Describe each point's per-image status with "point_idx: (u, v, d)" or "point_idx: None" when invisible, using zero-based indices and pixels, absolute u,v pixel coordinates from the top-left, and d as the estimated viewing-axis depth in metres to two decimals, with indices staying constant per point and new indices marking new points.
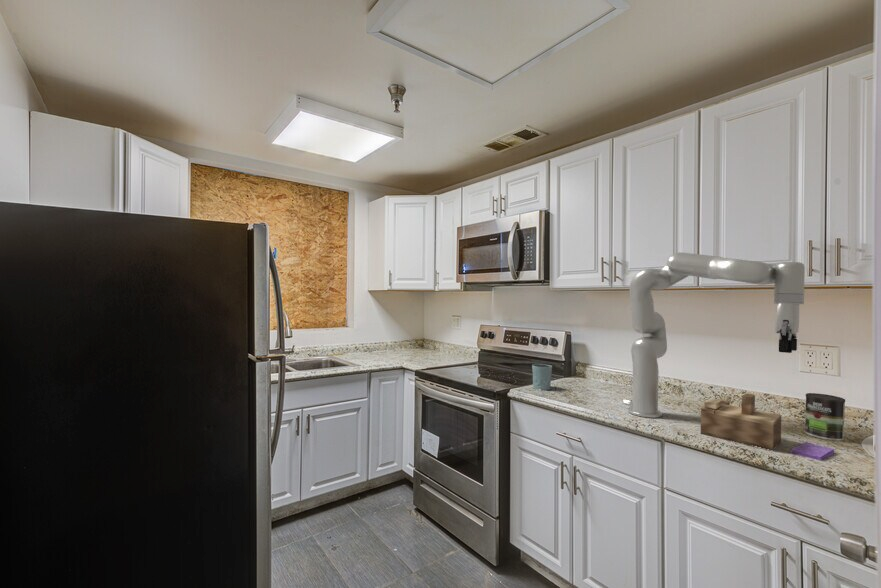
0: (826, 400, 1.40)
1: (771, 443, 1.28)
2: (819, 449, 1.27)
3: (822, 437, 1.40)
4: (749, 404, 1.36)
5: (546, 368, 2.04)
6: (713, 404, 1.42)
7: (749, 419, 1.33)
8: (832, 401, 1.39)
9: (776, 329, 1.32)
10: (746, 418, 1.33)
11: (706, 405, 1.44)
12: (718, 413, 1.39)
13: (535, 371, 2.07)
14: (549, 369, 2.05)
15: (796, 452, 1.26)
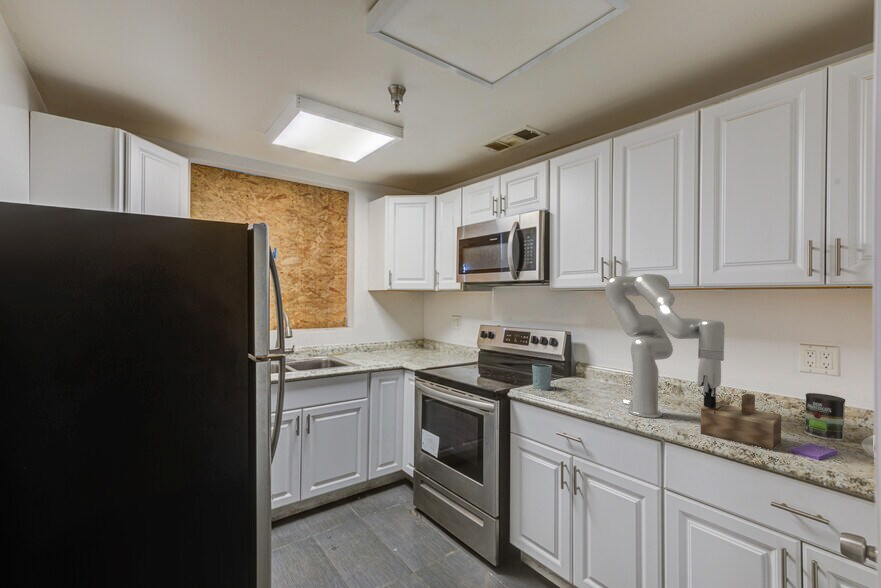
0: (826, 400, 1.40)
1: (771, 443, 1.28)
2: (821, 449, 1.27)
3: (822, 437, 1.40)
4: (749, 404, 1.36)
5: (546, 368, 2.04)
6: None
7: (749, 419, 1.33)
8: (832, 401, 1.39)
9: (698, 383, 1.41)
10: (746, 418, 1.33)
11: None
12: (718, 413, 1.39)
13: (535, 371, 2.07)
14: (549, 369, 2.05)
15: (795, 451, 1.26)
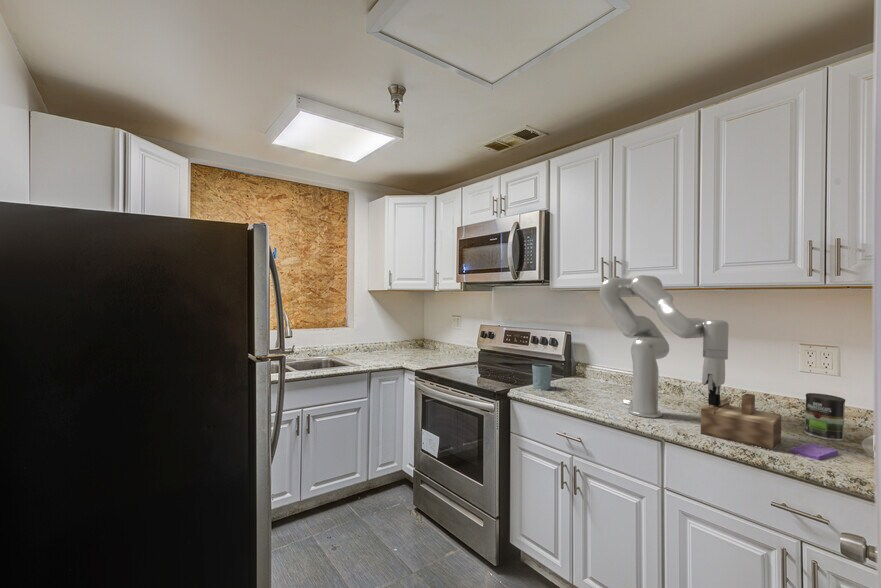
0: (826, 400, 1.40)
1: (771, 443, 1.28)
2: (821, 450, 1.27)
3: (822, 437, 1.40)
4: (749, 404, 1.36)
5: (546, 368, 2.04)
6: None
7: (749, 419, 1.33)
8: (832, 401, 1.39)
9: (702, 381, 1.45)
10: (746, 418, 1.33)
11: None
12: (718, 413, 1.39)
13: (535, 371, 2.07)
14: (549, 369, 2.05)
15: (795, 451, 1.26)
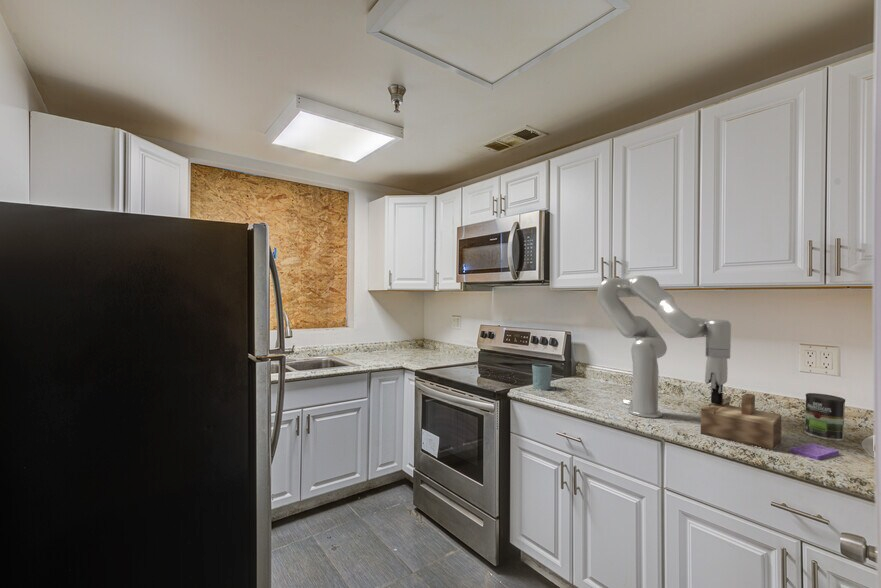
0: (826, 400, 1.40)
1: (771, 443, 1.28)
2: (821, 450, 1.27)
3: (822, 437, 1.40)
4: (749, 404, 1.36)
5: (546, 368, 2.04)
6: None
7: (749, 419, 1.33)
8: (832, 401, 1.39)
9: (705, 380, 1.47)
10: (746, 418, 1.33)
11: None
12: (718, 413, 1.39)
13: (535, 371, 2.07)
14: (549, 369, 2.05)
15: (794, 451, 1.27)
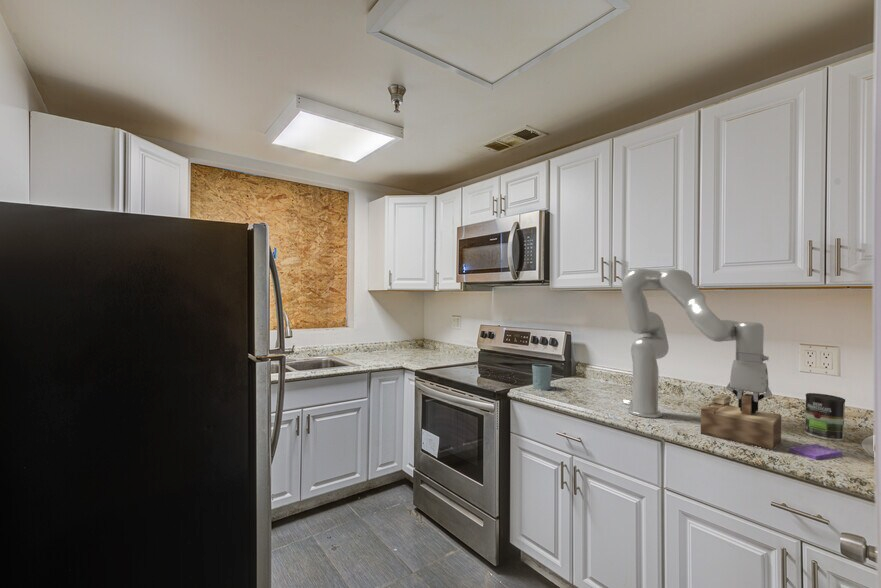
0: (826, 400, 1.40)
1: (771, 443, 1.28)
2: (823, 450, 1.26)
3: (822, 437, 1.40)
4: (749, 404, 1.36)
5: (546, 368, 2.04)
6: (721, 400, 1.48)
7: (749, 419, 1.33)
8: (832, 401, 1.39)
9: None
10: (746, 418, 1.33)
11: (714, 401, 1.50)
12: (718, 413, 1.39)
13: (535, 371, 2.07)
14: (549, 369, 2.05)
15: (793, 451, 1.27)
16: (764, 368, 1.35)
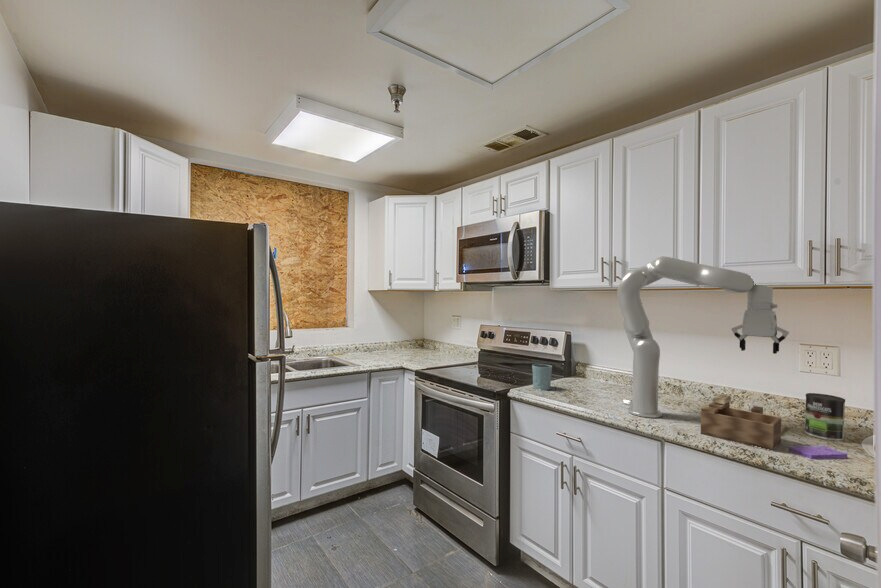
0: (826, 400, 1.40)
1: (771, 443, 1.28)
2: (825, 451, 1.25)
3: (822, 437, 1.40)
4: None
5: (546, 368, 2.04)
6: (721, 400, 1.49)
7: None
8: (832, 401, 1.39)
9: None
10: None
11: (714, 401, 1.50)
12: None
13: (535, 371, 2.07)
14: (549, 369, 2.05)
15: (792, 449, 1.28)
16: (773, 315, 1.49)
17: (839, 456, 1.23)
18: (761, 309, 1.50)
